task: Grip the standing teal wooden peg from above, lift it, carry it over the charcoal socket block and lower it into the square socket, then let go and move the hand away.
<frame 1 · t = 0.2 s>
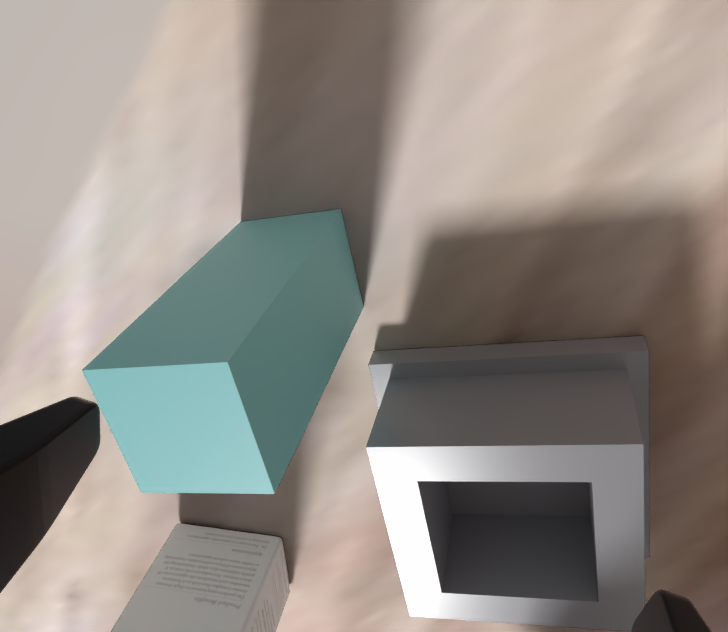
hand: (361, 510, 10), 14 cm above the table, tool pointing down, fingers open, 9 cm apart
socket block: (513, 447, 26), on the table
teal peg: (302, 264, 24), on the table
skincare box: (239, 549, 34), on the table
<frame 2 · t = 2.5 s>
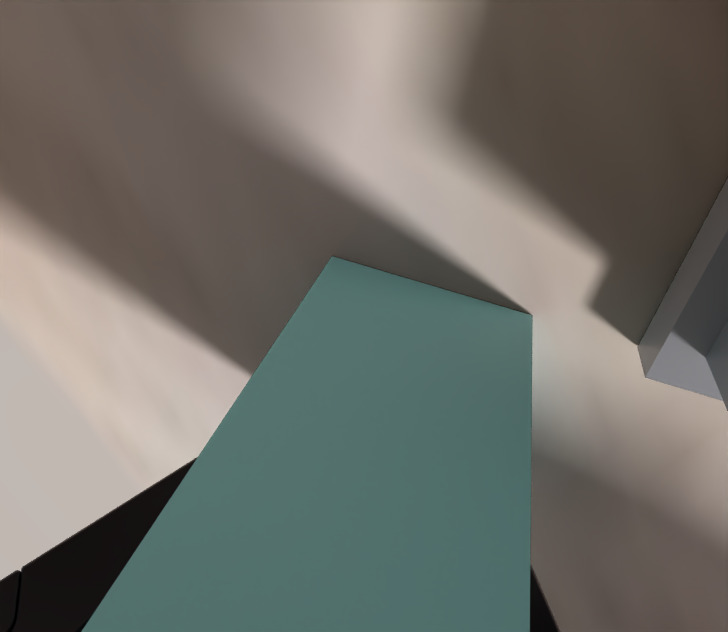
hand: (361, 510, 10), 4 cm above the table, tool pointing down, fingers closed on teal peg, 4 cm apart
teal peg: (406, 366, 13), on the table, touching gripper
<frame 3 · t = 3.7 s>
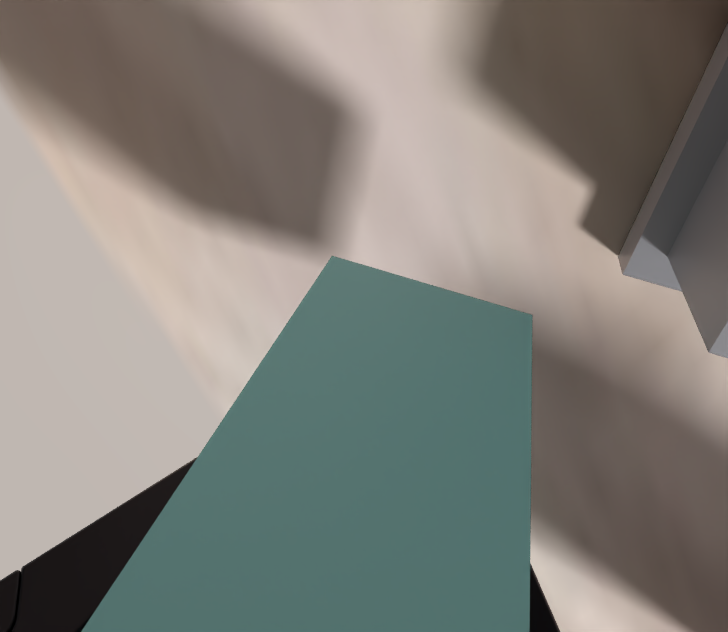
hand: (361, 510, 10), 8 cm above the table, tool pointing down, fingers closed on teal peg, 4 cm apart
teal peg: (406, 366, 13), point 4 cm above the table, touching gripper
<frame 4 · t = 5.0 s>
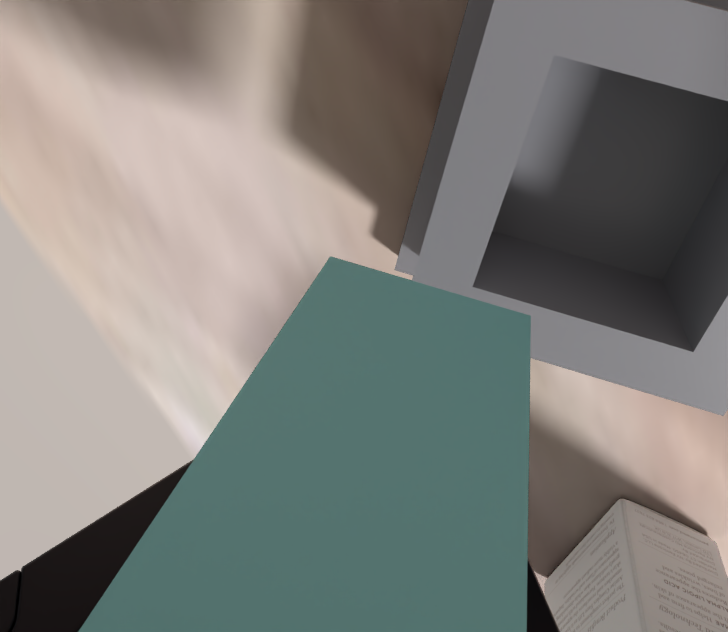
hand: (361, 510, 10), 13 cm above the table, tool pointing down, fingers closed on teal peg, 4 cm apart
socket block: (605, 156, 19), on the table
teal peg: (404, 367, 13), point 9 cm above the table, touching gripper
skincare box: (622, 550, 26), on the table
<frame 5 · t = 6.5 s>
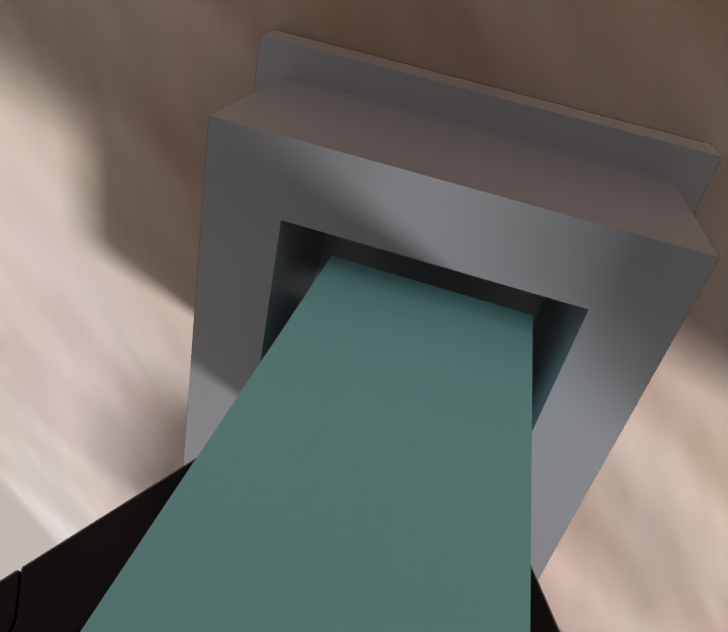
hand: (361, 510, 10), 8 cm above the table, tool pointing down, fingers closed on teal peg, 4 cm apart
socket block: (429, 277, 17), on the table
teal peg: (406, 366, 13), point 4 cm above the table, touching gripper
when the fingers open (6 cm above the table, at t = 7.7 s): teal peg drops 1 cm, resting on socket block.
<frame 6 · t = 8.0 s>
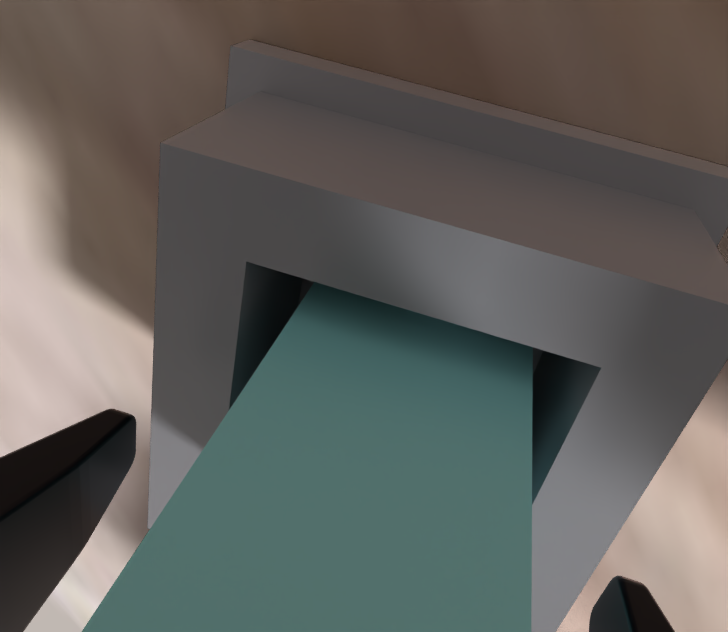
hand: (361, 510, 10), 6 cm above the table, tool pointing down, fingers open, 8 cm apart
socket block: (422, 310, 15), on the table
teal peg: (417, 331, 15), point 1 cm above the table, touching socket block
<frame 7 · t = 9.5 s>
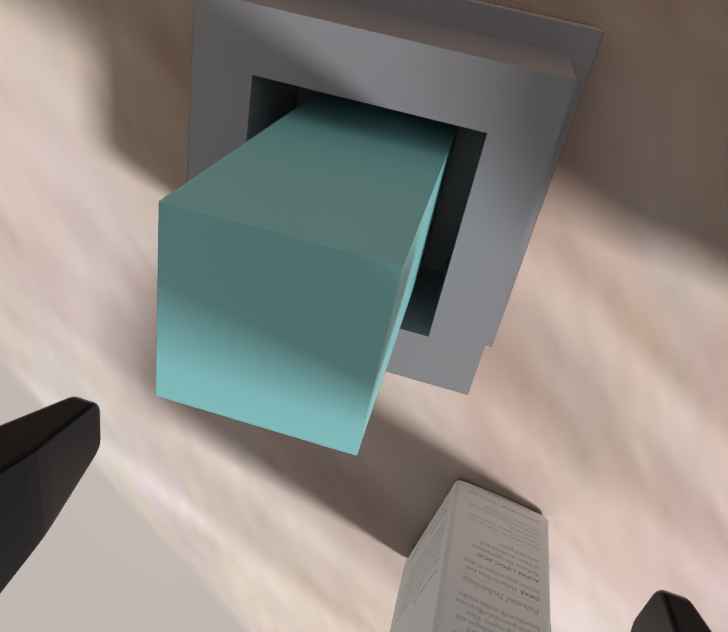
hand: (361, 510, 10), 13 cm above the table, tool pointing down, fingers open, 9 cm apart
socket block: (384, 160, 20), on the table
teal peg: (379, 169, 19), point 1 cm above the table, touching socket block
skincare box: (471, 530, 28), on the table
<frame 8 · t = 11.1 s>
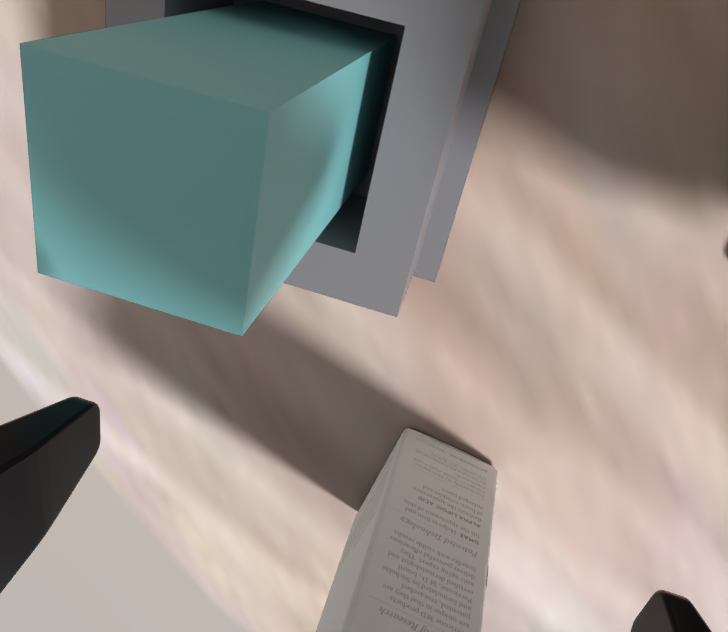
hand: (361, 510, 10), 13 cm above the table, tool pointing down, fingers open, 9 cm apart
socket block: (325, 83, 20), on the table
teal peg: (317, 90, 19), point 1 cm above the table, touching socket block
skincare box: (422, 483, 27), on the table
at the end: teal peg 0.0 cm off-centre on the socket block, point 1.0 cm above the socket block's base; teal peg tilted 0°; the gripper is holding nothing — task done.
